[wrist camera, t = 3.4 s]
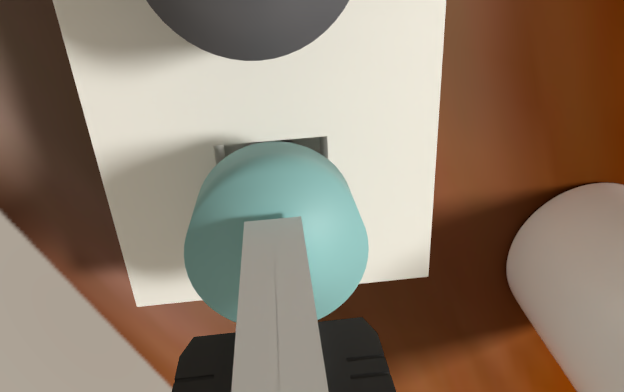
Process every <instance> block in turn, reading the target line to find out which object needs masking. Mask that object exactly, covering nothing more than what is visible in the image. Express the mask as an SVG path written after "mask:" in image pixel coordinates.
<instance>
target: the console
mask: <svg viewBox="0 0 624 392" xmlns="http://www.w3.org/2000/svg"><path fill="white" fill-rule="evenodd" d="M53 4H54V7H55V11H56V15H57V18H58V22H59V25H60V29H61V33H62V36H63V40H64V44H65V47H66V51H67V55H68V58H69V62H70V65H71V69H72V73H73V76H74V80H75V84H76V87H77V91H78V94H79V98H80V102H81V105H82V109H83V113H84V116H85V120H86V123H87V127H88V131H89V134H90V138H91V142H92V145H93V149H94V152H95V156H96V160H97V163H98V167H99V171H100V174H101V178H102V182H103V185H104V189H105V192H106V196H107V200H108V203H109V207H110V211H111V214H112V218H113V221H114V225H115V229H116V232H117V236H118V240H119V243H120V247H121V250H122V254H123V258H124V261H125V265H126V269H127V272H128V276H129V280H130V283H131V287H132V290H133V294H134V298H135V301H136V305H137V307H141V306H150V305H160V304H169V303H179V302H189V301H198V300H202V299H201V297H200V296H199V295H198V294H197V292H196V291H195V289H194V288H193V286H192V284H191V282H190V280H189V278H188V275H187V271H186V268H185V262H184V244H185V238H186V234H187V230H188V227H189V224H190V221H191V217H192V214H193V211H194V207H195V204H196V201H197V197H198V194H199V191H200V189H201V186H202V184H203V182H204V180H205V179H206V177H207V176H208V174H209V173H210V172H211V170H212V169H213V168H214V167H215V166H216V165H217V164H218V163H219V162H220V161H221V160H223V159H224V158H225V157H227V156H228V155H230V154H231V153H233V152H235V151H237V150H239V149H241V148H244V147H246V146H249V145H250V144H251V143H252V142H264V141H276V140H288V139H289V140H291V141H293V142H294V143H296V144H299V145H302V146H305V147H308V148H310V149H312V150H314V151H316V152H318V153H320V154H321V155H323V156H324V157H326V158H327V159H328V160H330V161H331V162H332V163H333V164H334V165H335V166H336V167H337V168H338V170H339V171H340V172H341V173H342V175H343V177H344V178H345V180H346V182H347V184H348V186H349V189H350V191H351V194H352V196H353V199H354V201H355V204H356V206H357V208H358V211H359V213H360V216H361V218H362V221H363V223H364V226H365V228H366V232H367V237H368V246H369V251H368V261H367V265H366V269H365V272H364V274H363V277H362V279H361V281H360V283H359V284H362V283H372V282H381V281H391V280H401V279H410V278H420V277H428V275H429V259H430V244H431V228H432V213H433V197H434V182H435V166H436V150H437V135H438V119H439V104H440V88H441V72H442V57H443V41H444V26H445V10H446V0H349V2H348V4H347V5H346V7H345V9H344V10H343V12H342V13H341V14H340V16H339V17H338V18H337V20H336V21H335V22H334V23H333V24H332V25H331V26H330V27H329V28H328V29H327V30H326V31H325V32H324V33H323V34H322V35H321V36H319V37H318V38H317V39H316V40H314V41H313V42H312V43H310V44H308V45H307V46H305V47H303V48H302V49H300V50H297V51H295V52H293V53H291V54H288V55H285V56H282V57H278V58H275V59H268V60H261V61H242V60H234V59H228V58H225V57H221V56H217V55H214V54H212V53H209V52H207V51H204V50H202V49H200V48H198V47H196V46H195V45H193V44H191V43H189V42H187V41H186V40H185V39H183V38H182V37H181V36H179V35H178V34H176V33H175V32H174V31H173V30H172V29H171V28H170V27H169V26H167V25H166V24H165V23H164V22H163V21H162V20H161V19H160V17H159V16H158V15H157V14H156V13H155V12H154V10H153V9H152V8H151V7H150V5H149V4H148V2H147V1H146V0H53Z"/></svg>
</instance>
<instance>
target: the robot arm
mask: <svg viewBox="0 0 624 392" xmlns="http://www.w3.org/2000/svg"><path fill="white" fill-rule="evenodd" d="M172 392H396V390H395V387H394V384H393V381H392V377H391V375H390V373H389V368H388V365H387V362H386V359H385V358H384V352H383V349H382V346H381V343H380V340H379V337H378V334H377V332H376V331H375V330H374V329H373V328H372V327H371V326H370V325H369V324H368V323H367V322H366V321H365V320H364V319H363V317H359V318H350V319H341V320H332V321H322V322H318V321H317V315H316V308H315V302H314V295H313V289H312V283H311V276H310V270H309V264H308V257H307V251H306V245H305V238H304V232H303V226H302V219H301V216H300V217H289V218H278V219H268V220H257V221H247V222H244V231H243V244H242V257H241V270H240V283H239V296H238V310H237V323H236V333H227V334H217V335H208V336H199V337H193V339H192V340H191V342H190V343H189V344H188V346H187V347H186V349H185V350H184V351H183V353H182V354H181V356H180V357H179V362H178V366H177V371H176V375H175V383H174V384H173V389H172Z"/></svg>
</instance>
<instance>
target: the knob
mask: <svg viewBox="0 0 624 392" xmlns="http://www.w3.org/2000/svg"><path fill="white" fill-rule="evenodd" d="M300 216H301V219H302V226H303V232H304V238H305V245H306V251H307V257H308V264H309V270H310V276H311V283H312V289H313V295H314V302H315V308H316V315H317V320H319V319H321V318H323V317H325V316H326V315H328V314H330V313H331V312H333V311H334V310H336V309H337V308H338V307H339V306H341V305H342V304H343V303H344V302H345V301H346V300H347V299H348V298H349V297H350V296H351V295H352V293H353V292H354V290H355V289H356V288H357V286H358V284H359V283H360V281H361V279H362V277H363V274H364V272H365V269H366V265H367V261H368V251H369V246H368V237H367V232H366V228H365V226H364V223H363V221H362V218H361V216H360V213H359V211H358V208H357V206H356V204H355V201H354V199H353V196H352V194H351V191H350V189H349V186H348V184H347V182H346V180H345V178H344V177H343V175H342V173H341V172H340V171H339V170H338V168H337V167H336V166H335V165H334V164H333V163H332V162H331V161H330V160H328V159H327V158H326V157H324V156H323V155H321V154H320V153H318V152H316V151H314V150H312V149H310V148H308V147H305V146H302V145H299V144H296V143H294V142H293V141H291V140H289V139H288V140H276V141H264V142H252V143H251V144H250V145H249V146H246V147H244V148H241V149H239V150H237V151H235V152H233V153H231V154H230V155H228V156H227V157H225V158H224V159H223V160H221V161H220V162H219V163H218V164H217V165H216V166H215V167H214V168H213V169H212V170H211V172H210V173H209V174H208V176H207V177H206V179H205V180H204V182H203V184H202V186H201V189H200V191H199V194H198V197H197V201H196V204H195V207H194V211H193V214H192V217H191V221H190V224H189V227H188V230H187V234H186V238H185V244H184V262H185V268H186V271H187V275H188V278H189V280H190V282H191V284H192V286H193V288H194V289H195V291H196V292H197V294H198V295H199V296H200V297H201V299H202V300H203V301H204V302H205V303H206V304H207V305H208V306H209V307H211V308H212V309H213V310H214V311H216V312H217V313H219V314H220V315H222V316H224V317H226V318H227V319H229V320H231V321H234V322H237V310H238V296H239V283H240V270H241V257H242V244H243V231H244V222H247V221H257V220H268V219H278V218H289V217H300Z"/></svg>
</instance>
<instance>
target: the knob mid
mask: <svg viewBox="0 0 624 392" xmlns="http://www.w3.org/2000/svg"><path fill="white" fill-rule="evenodd" d="M146 1H147V2H148V4H149V5H150V7H151V8H152V9H153V10H154V12H155V13H156V14H157V15H158V16H159V17H160V19H161V20H162V21H163V22H164V23H165V24H166V25H167V26H169V27H170V28H171V29H172V30H173V31H174V32H175V33H176V34H178V35H179V36H181V37H182V38H183V39H185V40H186V41H187V42H189V43H191V44H193V45H195V46H196V47H198V48H200V49H202V50H204V51H207V52H209V53H212V54H214V55H217V56H221V57H225V58H228V59H234V60H242V61H261V60H268V59H275V58H278V57H282V56H285V55H288V54H291V53H293V52H295V51H297V50H300V49H302V48H303V47H305V46H307V45H308V44H310V43H312V42H313V41H314V40H316V39H317V38H318V37H319V36H321V35H322V34H323V33H324V32H325V31H326V30H327V29H328V28H329V27H330V26H331V25H332V24H333V23H334V22H335V21H336V20H337V18H338V17H339V16H340V14H341V13H342V12H343V10H344V9H345V7H346V5H347V4H348V2H349V0H146Z"/></svg>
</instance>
